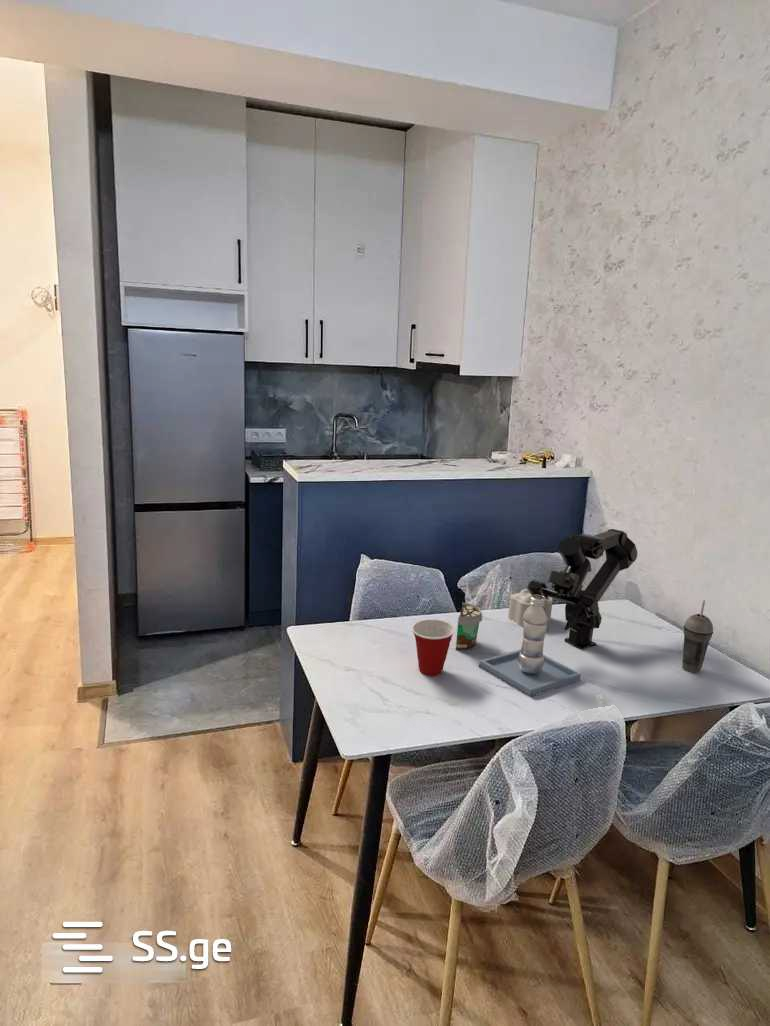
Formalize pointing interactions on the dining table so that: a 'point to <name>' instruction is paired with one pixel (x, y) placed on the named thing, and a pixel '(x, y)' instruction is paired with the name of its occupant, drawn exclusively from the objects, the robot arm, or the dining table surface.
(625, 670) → the dining table surface
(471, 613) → the food container
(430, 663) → the plastic cup
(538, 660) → the plastic bottle
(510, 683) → the blue-gray tray
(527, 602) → the beige lumpy box
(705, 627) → the beverage cup
